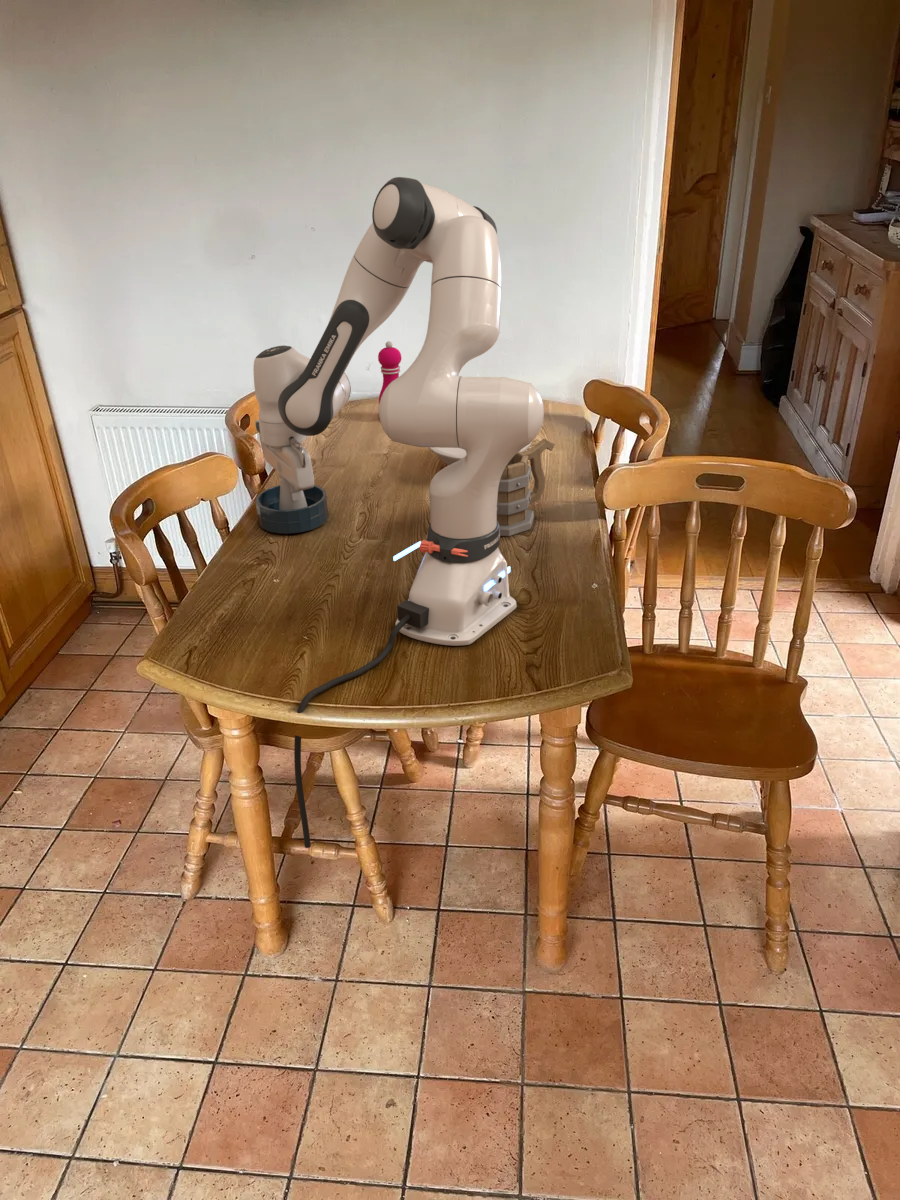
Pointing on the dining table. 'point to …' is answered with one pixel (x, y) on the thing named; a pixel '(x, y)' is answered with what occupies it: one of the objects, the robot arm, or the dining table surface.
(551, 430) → the dining table surface
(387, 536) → the dining table surface
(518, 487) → the tankard
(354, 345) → the robot arm
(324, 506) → the glazed bowl
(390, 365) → the pepper mill
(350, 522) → the dining table surface
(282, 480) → the salt shaker
